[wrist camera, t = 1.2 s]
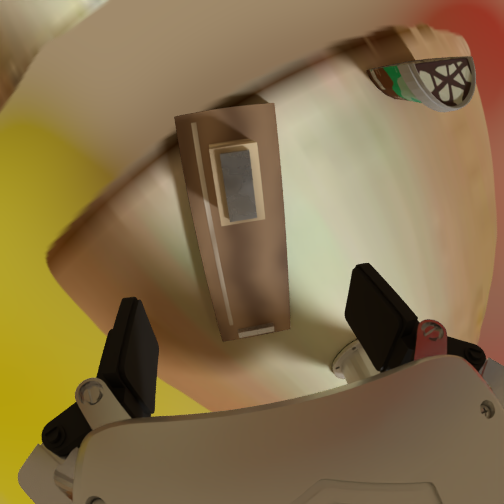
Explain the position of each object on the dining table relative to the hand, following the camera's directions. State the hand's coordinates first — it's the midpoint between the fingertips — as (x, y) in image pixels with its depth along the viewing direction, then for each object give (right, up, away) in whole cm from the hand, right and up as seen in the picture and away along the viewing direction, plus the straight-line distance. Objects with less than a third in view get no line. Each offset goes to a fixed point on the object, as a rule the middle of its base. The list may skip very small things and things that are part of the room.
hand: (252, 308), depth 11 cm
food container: (+19, +24, +15) cm, 34 cm away
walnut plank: (-1, +4, +21) cm, 22 cm away
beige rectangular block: (-2, +10, +16) cm, 19 cm away
